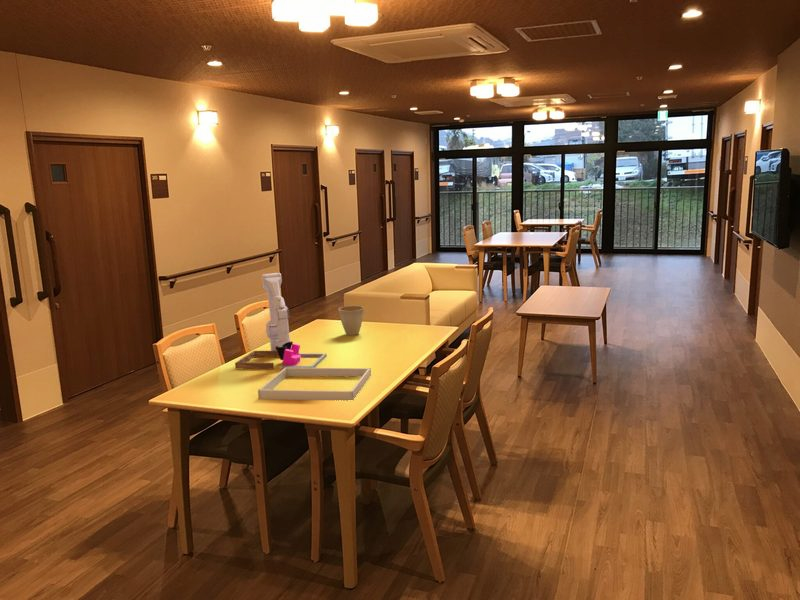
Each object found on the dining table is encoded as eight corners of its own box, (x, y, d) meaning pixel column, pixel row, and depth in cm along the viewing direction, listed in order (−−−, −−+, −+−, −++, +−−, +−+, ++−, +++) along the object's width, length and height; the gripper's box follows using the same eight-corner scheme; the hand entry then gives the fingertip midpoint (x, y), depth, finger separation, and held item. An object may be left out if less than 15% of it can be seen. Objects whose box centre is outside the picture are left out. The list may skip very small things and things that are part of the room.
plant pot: (338, 337, 375) (336, 311, 372) (341, 331, 390) (340, 306, 387) (364, 336, 374) (362, 310, 371) (366, 330, 389) (364, 305, 386)
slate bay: (297, 356, 340) (297, 353, 340) (326, 356, 337) (326, 353, 337) (281, 369, 317) (281, 366, 317) (312, 369, 314) (312, 366, 314)
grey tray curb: (285, 375, 307) (285, 367, 306) (371, 376, 299) (370, 368, 298) (258, 399, 275) (257, 390, 274) (353, 400, 267) (352, 391, 266)
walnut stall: (254, 356, 344) (253, 350, 344) (289, 356, 341) (288, 350, 340) (235, 368, 322) (235, 363, 322) (273, 369, 318) (272, 363, 318)
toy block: (294, 367, 320) (296, 352, 318) (282, 364, 320) (284, 350, 319) (302, 359, 334) (304, 346, 333) (290, 356, 335) (293, 343, 334)
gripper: (280, 329, 333) (282, 354, 335) (271, 334, 319) (273, 361, 321) (293, 328, 332) (295, 354, 334) (284, 334, 318) (286, 361, 320)
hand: (285, 357), depth 327 cm, fingers open, 7 cm apart
